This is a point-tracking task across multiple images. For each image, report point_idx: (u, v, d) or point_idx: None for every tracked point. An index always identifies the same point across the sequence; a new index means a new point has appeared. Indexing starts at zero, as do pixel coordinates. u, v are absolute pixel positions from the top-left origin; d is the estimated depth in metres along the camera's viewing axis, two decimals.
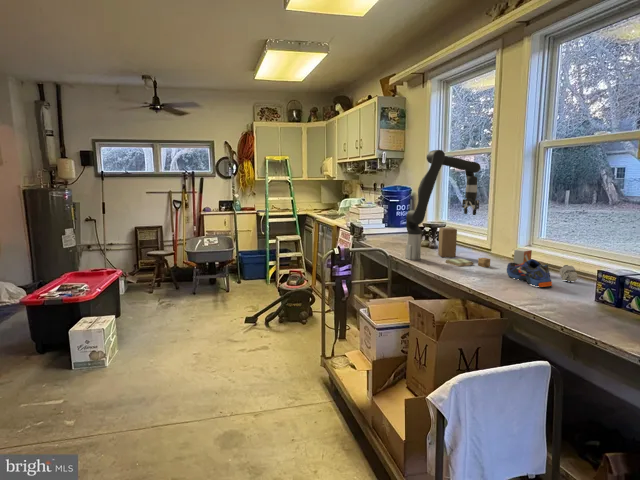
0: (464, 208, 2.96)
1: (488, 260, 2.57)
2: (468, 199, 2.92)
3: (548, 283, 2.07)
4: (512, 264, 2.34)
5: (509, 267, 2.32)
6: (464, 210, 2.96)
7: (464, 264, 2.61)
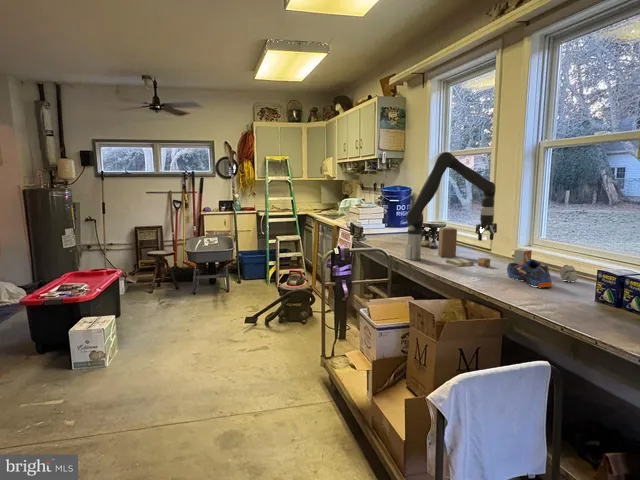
0: (481, 234, 2.54)
1: (488, 260, 2.57)
2: (486, 223, 2.54)
3: (548, 283, 2.07)
4: (512, 264, 2.33)
5: (509, 267, 2.32)
6: (481, 236, 2.55)
7: (464, 264, 2.61)
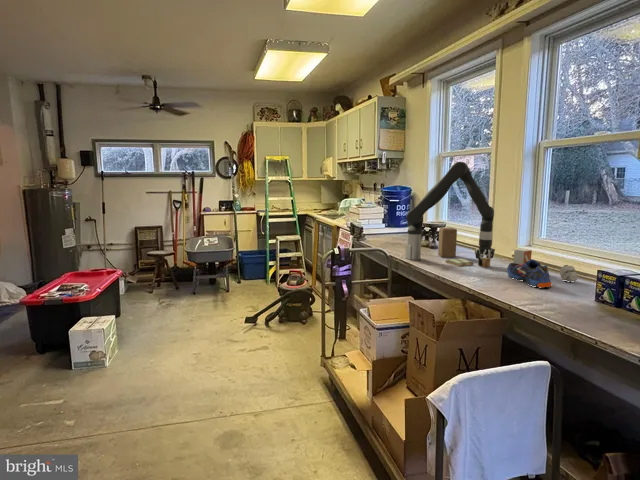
0: None
1: (488, 260, 2.57)
2: (485, 247, 2.57)
3: (547, 284, 2.06)
4: (513, 264, 2.33)
5: (509, 267, 2.31)
6: (481, 262, 2.57)
7: (464, 264, 2.61)
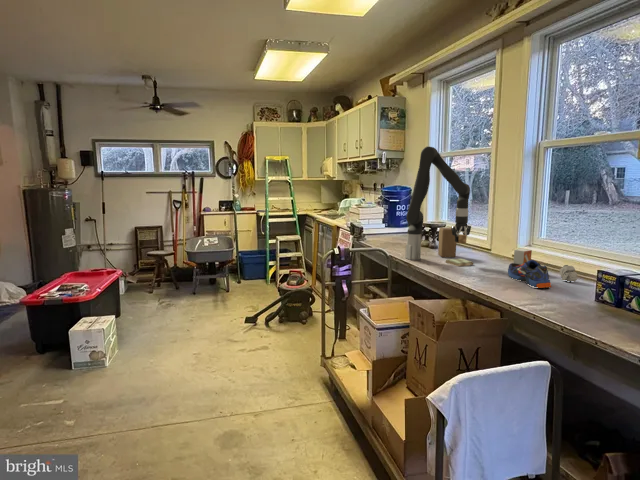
0: None
1: (464, 236, 2.62)
2: (461, 224, 2.61)
3: (546, 284, 2.05)
4: (513, 265, 2.32)
5: (510, 268, 2.31)
6: (457, 238, 2.62)
7: (464, 264, 2.61)
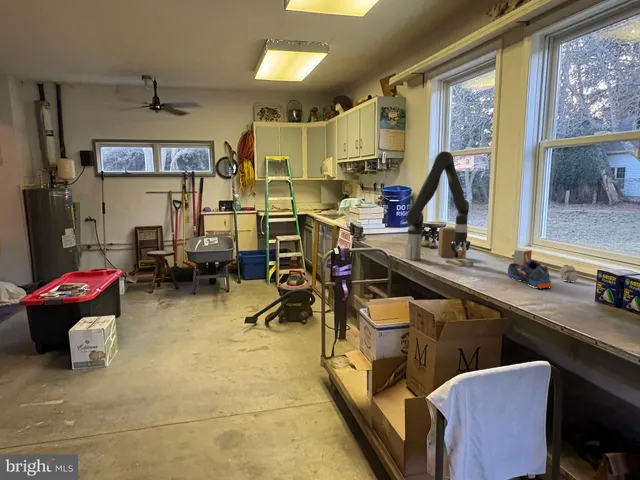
0: (457, 251, 2.63)
1: (464, 252, 2.63)
2: (460, 240, 2.63)
3: (547, 284, 2.05)
4: (513, 265, 2.32)
5: (510, 268, 2.30)
6: (457, 254, 2.64)
7: (464, 264, 2.61)
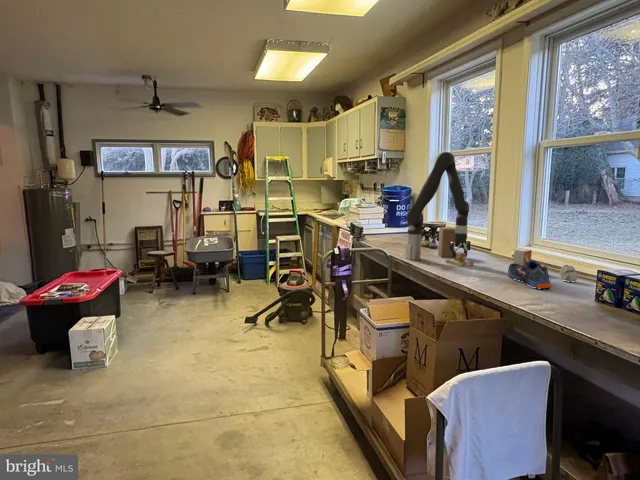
0: (455, 252, 2.63)
1: (463, 254, 2.64)
2: (460, 241, 2.63)
3: (546, 284, 2.05)
4: (514, 265, 2.31)
5: (510, 268, 2.30)
6: (455, 254, 2.63)
7: (464, 264, 2.61)
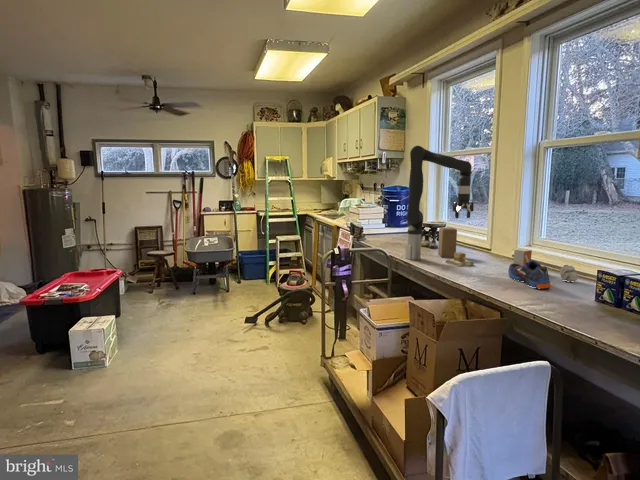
0: None
1: (463, 254, 2.64)
2: (463, 201, 2.65)
3: (546, 285, 2.04)
4: (514, 265, 2.31)
5: (510, 268, 2.30)
6: (457, 214, 2.65)
7: (464, 264, 2.61)
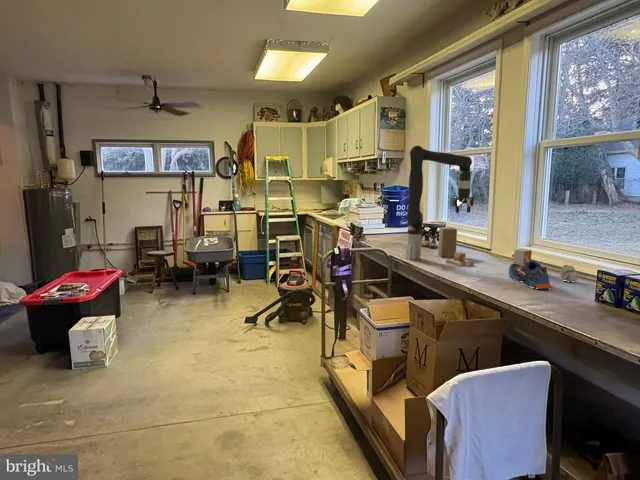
0: (458, 207, 2.68)
1: (463, 254, 2.64)
2: (463, 196, 2.69)
3: (545, 285, 2.04)
4: (514, 265, 2.31)
5: (511, 268, 2.29)
6: (458, 209, 2.69)
7: (464, 264, 2.61)
